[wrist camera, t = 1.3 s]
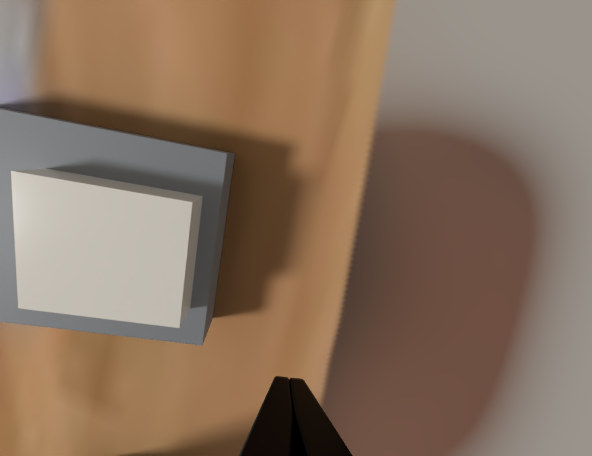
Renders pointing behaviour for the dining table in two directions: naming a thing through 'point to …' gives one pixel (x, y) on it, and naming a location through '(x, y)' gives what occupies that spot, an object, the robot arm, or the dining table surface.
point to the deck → (125, 168)
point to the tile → (104, 247)
